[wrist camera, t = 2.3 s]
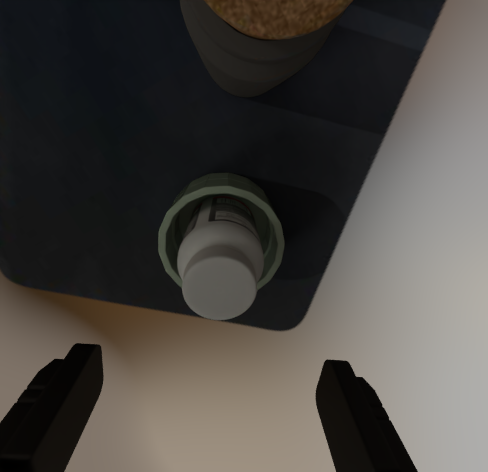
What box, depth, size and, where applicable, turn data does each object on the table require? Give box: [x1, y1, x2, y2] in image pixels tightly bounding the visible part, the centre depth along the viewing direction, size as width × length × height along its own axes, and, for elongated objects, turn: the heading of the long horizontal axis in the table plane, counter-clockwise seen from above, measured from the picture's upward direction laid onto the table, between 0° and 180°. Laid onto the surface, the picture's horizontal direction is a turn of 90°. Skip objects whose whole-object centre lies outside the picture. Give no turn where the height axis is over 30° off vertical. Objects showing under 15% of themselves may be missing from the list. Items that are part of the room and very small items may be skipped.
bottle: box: [180, 0, 353, 97], centre depth 13 cm, size 6×6×15 cm
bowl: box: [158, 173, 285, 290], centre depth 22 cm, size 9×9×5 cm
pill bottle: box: [177, 195, 264, 320], centre depth 20 cm, size 5×5×10 cm
